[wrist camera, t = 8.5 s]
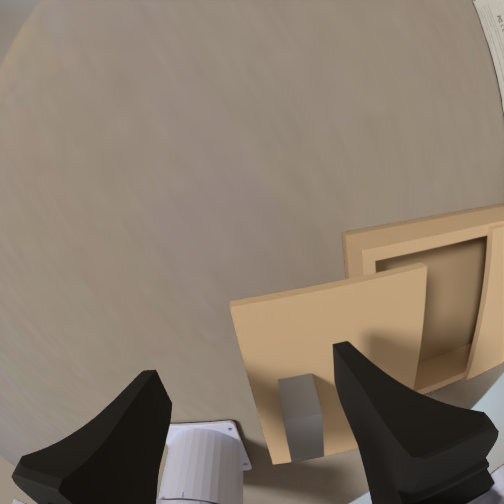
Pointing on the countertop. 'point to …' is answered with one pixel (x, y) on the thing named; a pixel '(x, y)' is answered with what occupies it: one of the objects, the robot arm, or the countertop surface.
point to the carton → (445, 286)
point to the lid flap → (325, 353)
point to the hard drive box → (494, 34)
